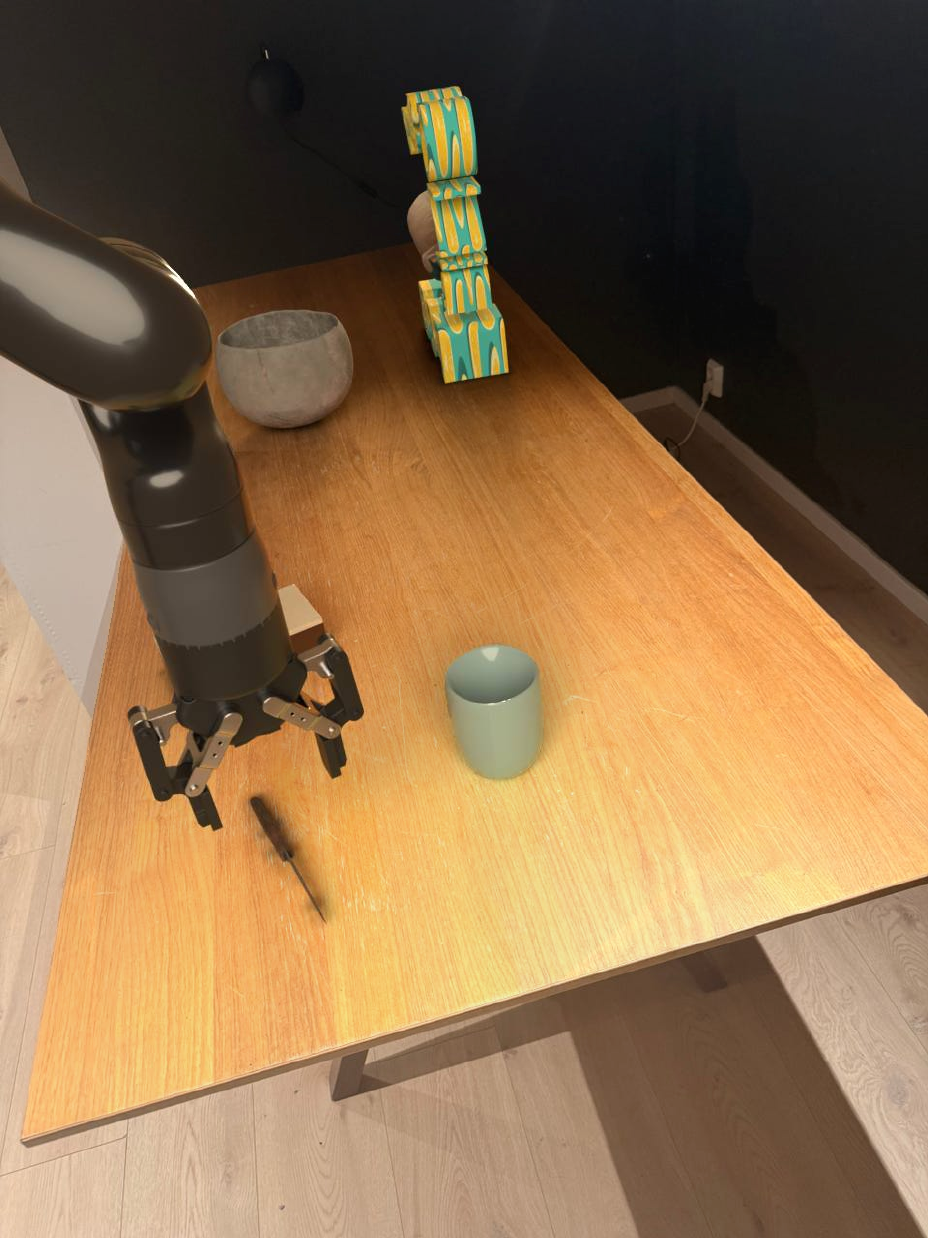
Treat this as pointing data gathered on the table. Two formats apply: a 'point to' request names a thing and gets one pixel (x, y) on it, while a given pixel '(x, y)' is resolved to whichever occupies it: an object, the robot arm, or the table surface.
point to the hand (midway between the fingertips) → (274, 795)
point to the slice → (300, 619)
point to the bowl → (285, 366)
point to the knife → (278, 840)
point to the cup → (496, 710)
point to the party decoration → (453, 238)
